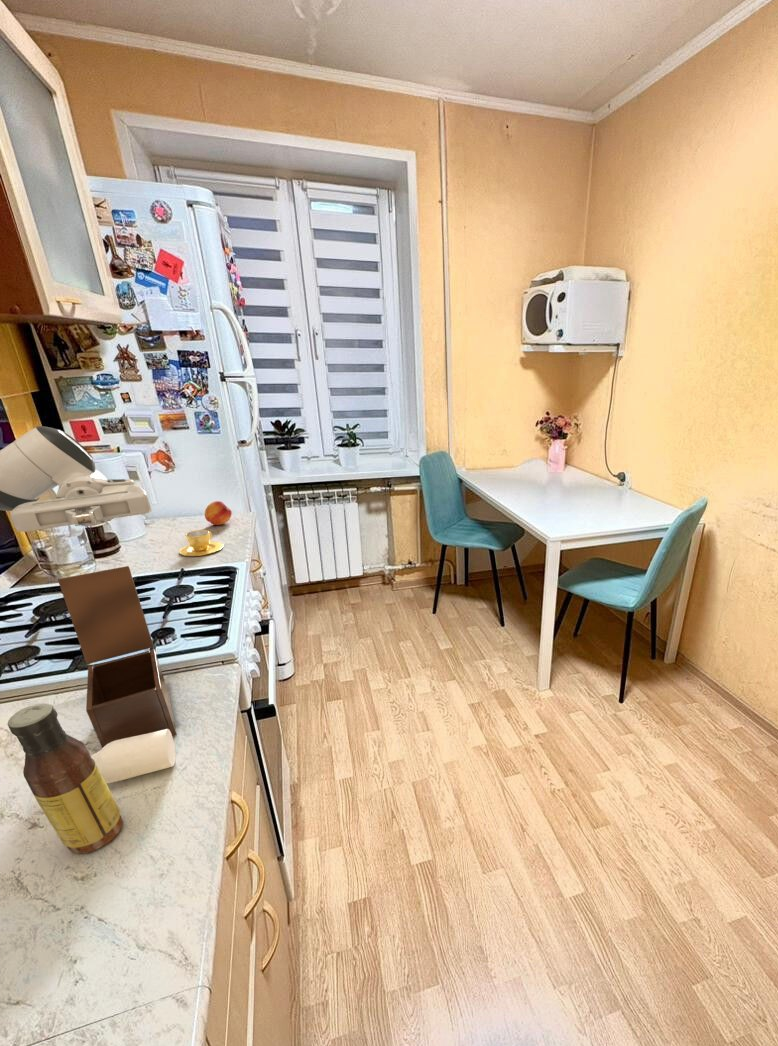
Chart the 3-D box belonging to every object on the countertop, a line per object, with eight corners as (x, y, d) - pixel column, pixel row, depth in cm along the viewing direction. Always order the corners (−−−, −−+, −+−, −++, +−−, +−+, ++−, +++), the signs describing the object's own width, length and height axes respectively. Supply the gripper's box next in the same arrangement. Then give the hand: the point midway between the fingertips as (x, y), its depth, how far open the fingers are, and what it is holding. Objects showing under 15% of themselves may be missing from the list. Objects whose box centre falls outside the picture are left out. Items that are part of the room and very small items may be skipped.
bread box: (176, 735, 82) (161, 688, 78) (106, 759, 77) (85, 710, 73) (168, 692, 92) (154, 649, 88) (106, 711, 88) (88, 666, 84)
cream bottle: (84, 772, 75) (70, 742, 73) (177, 748, 79) (167, 719, 77) (74, 802, 70) (59, 771, 68) (173, 774, 75) (163, 745, 72)
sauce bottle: (109, 807, 69) (55, 687, 61) (135, 827, 66) (82, 704, 58) (53, 844, 64) (-14, 718, 56) (78, 868, 61) (11, 738, 53)
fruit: (229, 527, 176) (224, 504, 172) (204, 528, 175) (198, 505, 171) (235, 520, 183) (230, 498, 179) (211, 521, 182) (206, 499, 178)
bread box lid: (128, 566, 84) (128, 565, 85) (57, 579, 80) (58, 578, 80) (153, 647, 88) (153, 646, 88) (86, 664, 83) (87, 663, 84)
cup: (204, 559, 150) (199, 541, 147) (170, 555, 153) (165, 538, 150) (232, 545, 160) (228, 528, 158) (199, 541, 163) (195, 525, 161)
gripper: (9, 493, 92) (-3, 512, 81) (141, 477, 102) (146, 492, 92) (23, 527, 95) (13, 549, 84) (151, 508, 105) (156, 526, 94)
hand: (84, 520), depth 88 cm, fingers closed
